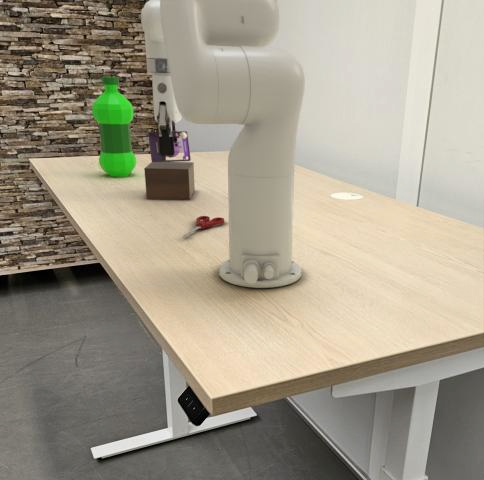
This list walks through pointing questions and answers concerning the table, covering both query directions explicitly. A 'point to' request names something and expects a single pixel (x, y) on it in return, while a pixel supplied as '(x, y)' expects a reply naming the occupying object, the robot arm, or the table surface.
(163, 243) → the table surface
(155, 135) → the purple toy box
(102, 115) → the plastic bottle
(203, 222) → the scissors
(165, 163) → the walnut block
